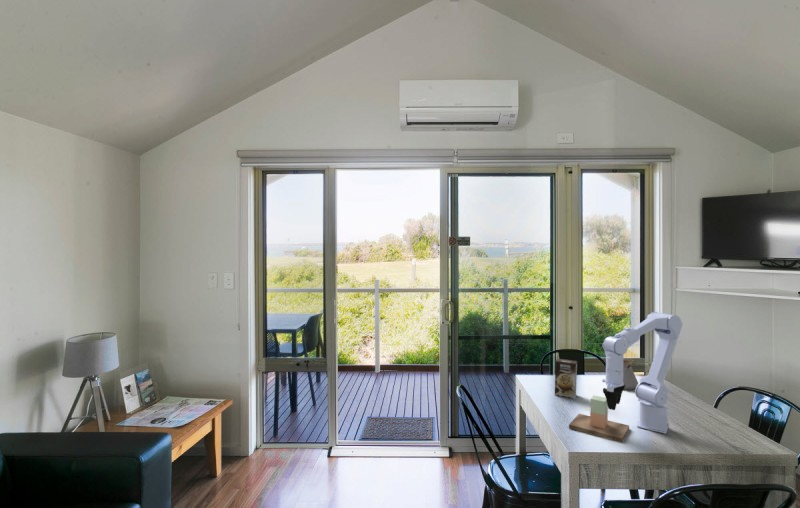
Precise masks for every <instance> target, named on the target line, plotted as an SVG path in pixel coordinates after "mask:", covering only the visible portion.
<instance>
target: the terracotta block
mask: <svg viewBox="0 0 800 508" xmlns="http://www.w3.org/2000/svg"><path fill="white" fill-rule="evenodd" d="M608 413H609V412H607V413H606V415H601V414H597V413H592V412H589V416H590V425H591V426H595V427H599V428H603V429H605V427H606V426H607V420H608V417H609V416H608ZM608 421H609V420H608Z"/></svg>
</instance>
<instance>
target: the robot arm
mask: <svg viewBox="0 0 800 508" xmlns="http://www.w3.org/2000/svg"><path fill="white" fill-rule="evenodd" d="M644 319H645V318H644ZM682 328H683V321H682V320H681V318H680V316H678V315H677V314H669V313H664V312H658V311H652V312H651V313H650V314H647V316H646V319H645V320H643V321H641V322H640V323H638V325H636V326H634V327H629V326H628V327H624V329H623V330H622V331H620V332H619V333H615V334H614V336H610V335H609V336H608V337H606V338H604V340H603V343H602V348H603V350H604V355H605V378H603V379H601V382H602V383H605V386H606V388H605V387H604V388H602V392H603V394H604V396H605V397H604V398H606V400H607V405H608V410H613V411H615V410H616V408H617V405H620V402H621V397H622V394H623V392H624V390H625V389H624V388H625V385H624V383H623V360H624V355H625V354H626V353H627V351H628V350H629V348H630V347H631V346H632V345H634V344H635V343H637V342H639V340H640V339H641V336H643V335H645V334H647V333H648V332H651V331H652V330H653V331H654V332H655V334H657V335H658V336H659V341H658V345H657V348H656V350H655V354H654V356H653V359H652V362H651V366H650V368H649V371H648V375H647V376H644V377H642V378H640V380H639V382H638V385H637V386H636V388H634V393H635V396H636V398H638V399H637V400H638V401H639V421H638V423H637V425H636V427H637V428H641V429H644V430H648V431H649V430H650V431H653V432H656V433H660V434H661V433H662V434H667V432H668V429H669V425H670V424H669V407H668V406H665V405H666V404H667V401H668V393H669V387H668V386H667V385H666V383H665V382H664V381H665V378H666V375H667V373H668V369H669V367H670V365H671V360H672V357H673V355H674V352H675V348H676V346H677V342H678V339H679V337H680V333H681V331H682Z"/></svg>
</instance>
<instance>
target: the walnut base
mask: <svg viewBox="0 0 800 508" xmlns="http://www.w3.org/2000/svg"><path fill="white" fill-rule="evenodd" d="M568 429H570V430H572V431H573V430H574V431H577V432H581V433H584V434H587V435H593V436H597V437H599V438H603V439H608V440H611V441H615V442H618V443H623V442H624V441H625V438H626V437H627V435H628V433H629V430H630V425H629V424H625V423H621V422H617V421H612V420H607V426H606V427H605V429H603V428H599V427H595V426H591V425H590V415H587V414H583V413H578V414H577V415H576V416H575V418H573V419H572V421H570V423H569V424H568Z"/></svg>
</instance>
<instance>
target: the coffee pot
mask: <svg viewBox="0 0 800 508" xmlns="http://www.w3.org/2000/svg"><path fill="white" fill-rule="evenodd" d="M632 364H633V361H630V360H626V359H625V360H624V359H623V383H624V385H625V388H624V389H623V390H625V389H628V391H631V389H633V390H635V389H636V386H637V385H638V384H639V382H638V379H637V377H636V375H635V372H634V370H633V365H632Z"/></svg>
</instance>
